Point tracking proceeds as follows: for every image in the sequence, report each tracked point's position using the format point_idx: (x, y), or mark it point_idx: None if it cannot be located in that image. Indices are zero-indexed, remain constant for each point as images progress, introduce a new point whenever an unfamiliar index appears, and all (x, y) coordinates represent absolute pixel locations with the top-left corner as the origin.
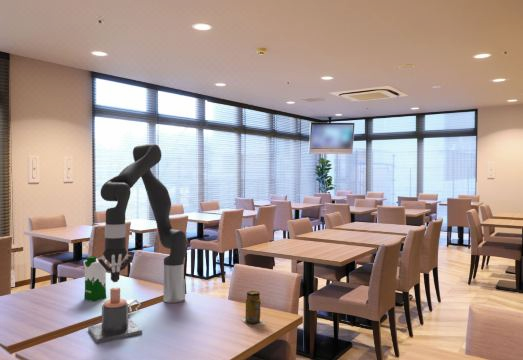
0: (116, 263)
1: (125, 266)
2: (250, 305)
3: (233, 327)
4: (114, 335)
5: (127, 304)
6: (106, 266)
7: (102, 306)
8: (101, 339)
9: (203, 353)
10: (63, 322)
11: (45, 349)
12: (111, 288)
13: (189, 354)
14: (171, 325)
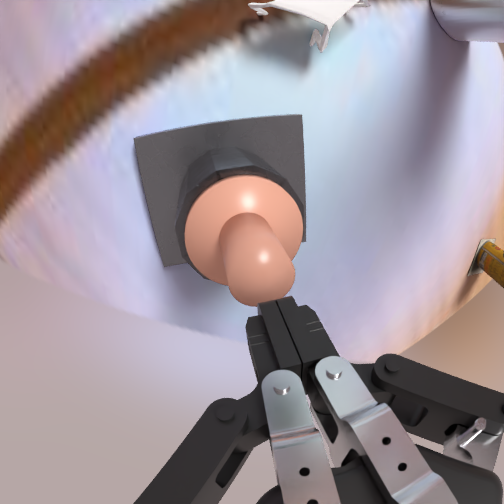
0: (342, 458)
1: (399, 406)
2: (498, 281)
3: (454, 269)
4: None
5: None
6: (219, 479)
7: (177, 236)
8: (176, 262)
9: (357, 355)
10: (67, 28)
11: (39, 249)
12: (239, 260)
13: None
14: (389, 204)
